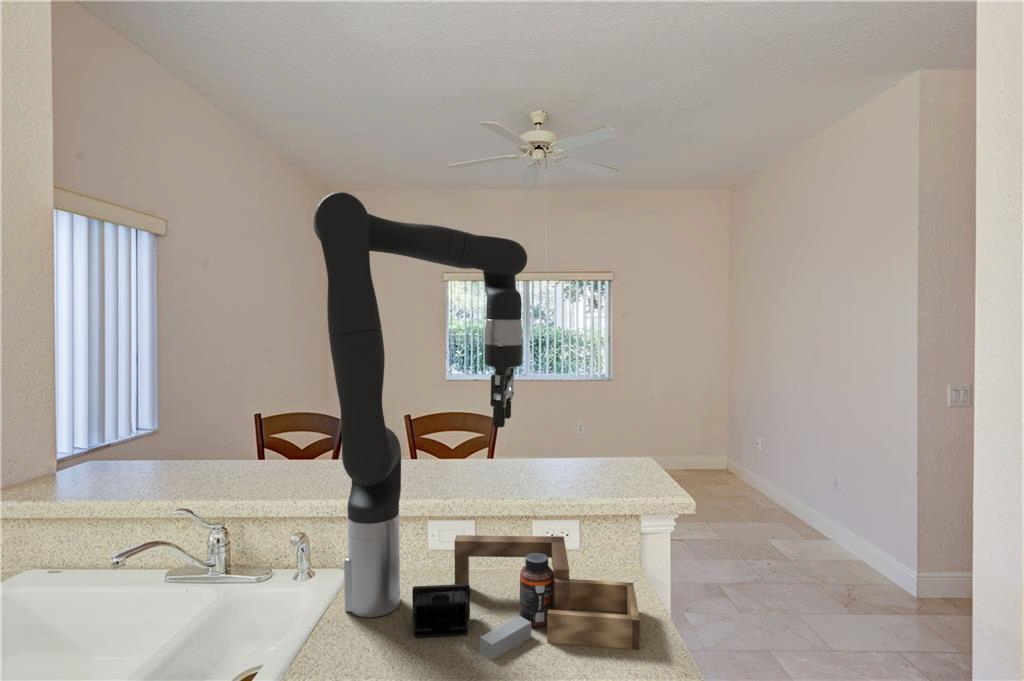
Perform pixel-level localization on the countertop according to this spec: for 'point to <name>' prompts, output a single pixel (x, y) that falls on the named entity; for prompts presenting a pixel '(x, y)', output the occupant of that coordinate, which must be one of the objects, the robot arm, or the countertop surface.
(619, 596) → the light wood frame
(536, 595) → the supplement bottle
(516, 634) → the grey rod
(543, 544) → the walnut crook
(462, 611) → the black box
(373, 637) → the countertop surface
